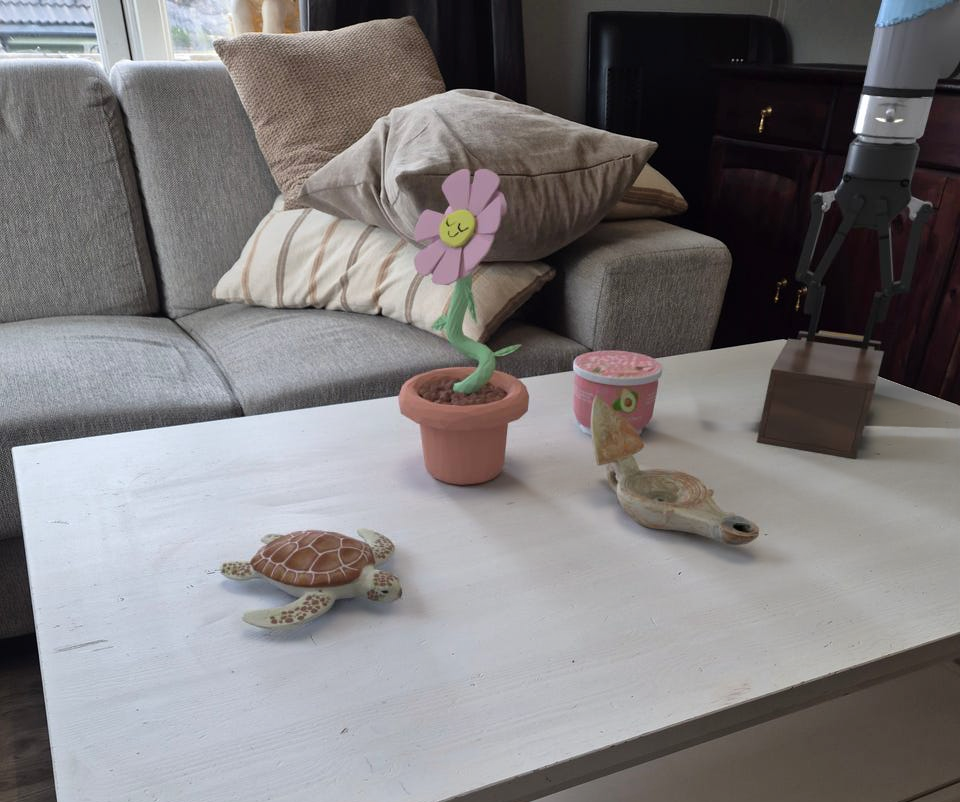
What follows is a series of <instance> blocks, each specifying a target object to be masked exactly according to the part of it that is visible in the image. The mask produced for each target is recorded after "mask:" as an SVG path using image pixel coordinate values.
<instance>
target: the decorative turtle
mask: <svg viewBox="0 0 960 802" xmlns="http://www.w3.org/2000/svg"><path fill="white" fill-rule="evenodd" d="M356 533H357V536H359V537H360V538H362V539H363V540H359V539H356V538H354V537H350V536H348V535H346V534H343V533H340V532H336V531H325V530H321V529H320V530H319V529H307V530H298V531H293V532H290V533H288V534H285V535H284V534H278V533H269V534H266V535H264V536H262V537H260V542H261V543H264V544H265V545H263V546H261V548H259V549H258V551H257V552H256V553H255V554H254V556H252V558H251V559H250V560H226V561H224V562H223V563H221V564H220V566H219V571H220V574H221V575H222V576H223V577H225V578H227V579H229V580H232V581H236V582H245V581H251V580H259V579H261V580H265V581H266V582H267V583H268V584H270V585H271V586H273V587H275V588H277V589H280V590H281V591H283V592H285V593H287V594H288V595H291V596H293V597H296V598H298V599H295V600H294V601H292V602H290V603H287V604H285V605H282V606H277V607H269V608H267V607H266V608H260V609H252V610H251V609H250V610H247V611H245V612H244V613H243V616H241V618H240V619H241V620H242V621H243V622H244V623H245V624H249V625H251V626H254V627H256V628H260V629H263V630H268V631H269V630H270V631H271V630H272V631H285V630H290V629H291V630H292V629H293V628H298V627H301V626H302V625H303V626H304V624H307V623H309V622H311V621H313V620H315V619H317V618H319V617H320V616H322V615H323V614H325V613H327V612H328V611H329V610H330V609H331V608H332V607H333V605H334V603H335V601H337V600H343V599H351V598H352V599H353V598H356V597H357V598H358V597H363V598H365V599H366V600H369V601H371V602H374V603H379V604H380V603H381V604H386V603H387V604H388V603H393V602H397V601H398V600H399V599H401V598H402V595H403V588H402V585H401V582H400V578H399V576H398V575H396V574H394V573H391V572H388V571H386V570H382V569H377V568H380V567H382V566H384V565H385V564H386V563H387V562H388V561H389V560H390V559H391V558H392V556H393V555H394V554H395V550H396V547H395V545H394V543H393V542H392V540H391V539H389V538H388V537H387V536H385V535H383V534H381V533H379V532H377V531H374V530H372V529H369V528H365V527H364V528H363V527H360V528H357V529H356Z"/></svg>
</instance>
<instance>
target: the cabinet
mask: <svg viewBox="0 0 960 802" xmlns="http://www.w3.org/2000/svg"><path fill="white" fill-rule="evenodd" d="M884 354H885V351H883V350H879V351H877V350H869V349H862V348H855V347H847V346H840V345H832V344H825V343H817V342H810V341H802V340H797V339H793V338H787V340H786V342H785V343H784V346H783V347H782V349H781V351H780V353H779V355H778V356H777V358H776V360H775V361H774V363H773V365H772V367H771V369H770V372H769V373H770V374H769V377H768V383H767V388H766V392H765V397H764V402H763V408H762V414H761V418H760V423H759V428H758V434H757V438H756V443H761V444H767V445H773V446H777V447H785V448H789V449H795V450H801V451H807V452H814V453H818V454H819V453H820V454H823V455H824V454H825V455H830V456H837V457H843V458H848V459H853V460H855V459H857V456H858V452H859V448H860V445H861V440H862V437H863V433H864V429H865V426H866V422H867V418H868V416H869V415H868V414H869V412H870V409H871V408H870V407H871V403H872V400H873V396H874V392H875V388H876V385H877V381H878V376H879V373H880V369H881V365H882V361H883V357H884Z"/></svg>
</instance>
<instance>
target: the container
mask: <svg viewBox="0 0 960 802" xmlns="http://www.w3.org/2000/svg"><path fill="white" fill-rule="evenodd" d="M572 369H573V372H574V373H575V374H574V377H573V378H574V379H573V404H572V405H573V406H572V408H573V412H574V415H575V418H576V421H577V422H578V423H579V424H580V425H579V427H580V429H581V431H582V432H583V433H584V434H586V435H588V436H591V412H592V403H593V400H594V397H595V396H597V395H598V396H600V397H601V399H602V400H603V401H604V402H605V403H606V404H607V405H609V406H610V407H611V408H613V409H614V410H615V411H616V412H618V413H619V414H620V415H621V416H622V417H623V418H624V419H625V420H626V421H627V422H628V423H629V424H630V425H631V426H632V427H633V428H634V429H635V431H636V432H637V433H638V435H639V436H640V435H641V434H642V433H643V429H644V428H645V427H647V426H648V424H649V423H650V421H651V419H652V417H653V415H654V409H655V404H656V399H657V393H658V387H659V379H660V378H661V377H662V374H663V365H662V363H661V362H660V361H658V360H657V359H655V358H653V357H651V356H649V355H646V354H642V353H637V352H633V351H625V350H597V351H596V350H595V351H590V352H585V353H582V354H580V355H577V357H576V358H574V360H573V365H572Z"/></svg>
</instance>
